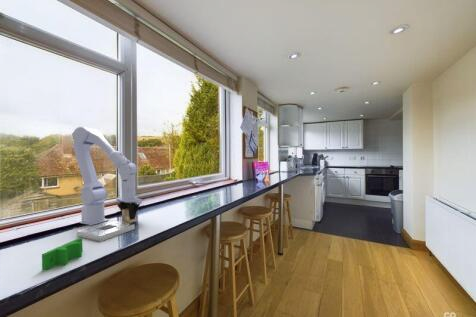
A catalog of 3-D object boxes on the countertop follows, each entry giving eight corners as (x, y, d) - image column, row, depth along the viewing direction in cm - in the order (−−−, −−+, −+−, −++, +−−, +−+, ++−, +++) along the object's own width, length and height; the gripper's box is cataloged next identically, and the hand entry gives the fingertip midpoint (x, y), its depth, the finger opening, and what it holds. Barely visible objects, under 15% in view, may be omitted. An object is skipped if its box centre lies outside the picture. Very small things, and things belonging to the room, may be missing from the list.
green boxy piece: (54, 272, 54) (54, 254, 54) (42, 271, 55) (41, 254, 55) (90, 252, 65) (89, 237, 65) (79, 251, 66) (79, 237, 66)
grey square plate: (77, 236, 79) (76, 231, 79) (112, 225, 92) (112, 220, 92) (100, 241, 73) (100, 236, 73) (134, 229, 86) (134, 224, 86)
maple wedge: (122, 222, 95) (122, 209, 95) (130, 220, 99) (129, 207, 99) (128, 223, 93) (128, 210, 93) (135, 221, 97) (135, 208, 97)
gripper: (146, 188, 97) (147, 217, 97) (125, 187, 103) (126, 214, 103) (133, 190, 90) (134, 222, 90) (111, 189, 96) (112, 218, 96)
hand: (129, 218), depth 96 cm, fingers closed on maple wedge, 4 cm apart
